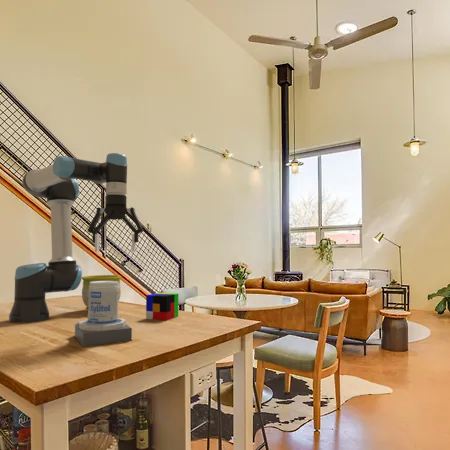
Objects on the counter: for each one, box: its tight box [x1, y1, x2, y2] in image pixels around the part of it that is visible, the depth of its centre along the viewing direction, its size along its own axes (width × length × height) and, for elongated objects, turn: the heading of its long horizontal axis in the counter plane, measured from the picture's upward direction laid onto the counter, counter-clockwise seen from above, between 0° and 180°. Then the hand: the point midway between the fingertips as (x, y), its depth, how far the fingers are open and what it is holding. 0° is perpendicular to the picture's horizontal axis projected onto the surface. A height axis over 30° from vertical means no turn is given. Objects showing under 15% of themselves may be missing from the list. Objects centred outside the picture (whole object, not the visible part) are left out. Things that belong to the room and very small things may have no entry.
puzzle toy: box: [145, 292, 179, 321], centre depth 162 cm, size 10×10×10 cm
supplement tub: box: [87, 281, 119, 325], centre depth 125 cm, size 10×10×15 cm
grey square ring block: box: [74, 317, 133, 348], centre depth 125 cm, size 16×15×6 cm
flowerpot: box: [81, 274, 122, 312], centre depth 180 cm, size 18×18×16 cm
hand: (115, 251), depth 139 cm, fingers open, 13 cm apart
